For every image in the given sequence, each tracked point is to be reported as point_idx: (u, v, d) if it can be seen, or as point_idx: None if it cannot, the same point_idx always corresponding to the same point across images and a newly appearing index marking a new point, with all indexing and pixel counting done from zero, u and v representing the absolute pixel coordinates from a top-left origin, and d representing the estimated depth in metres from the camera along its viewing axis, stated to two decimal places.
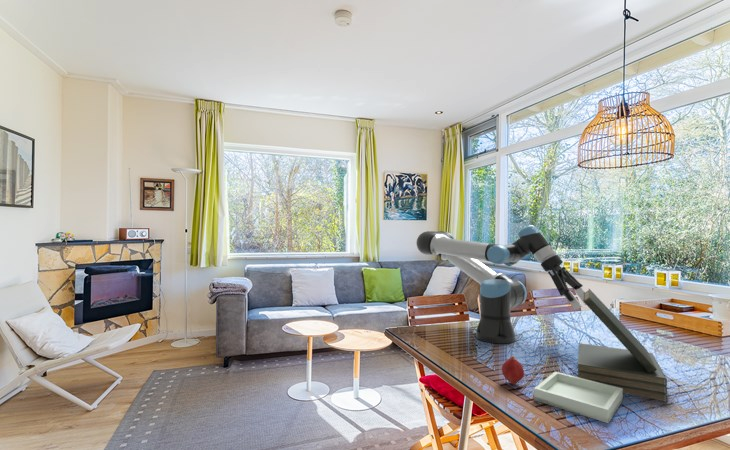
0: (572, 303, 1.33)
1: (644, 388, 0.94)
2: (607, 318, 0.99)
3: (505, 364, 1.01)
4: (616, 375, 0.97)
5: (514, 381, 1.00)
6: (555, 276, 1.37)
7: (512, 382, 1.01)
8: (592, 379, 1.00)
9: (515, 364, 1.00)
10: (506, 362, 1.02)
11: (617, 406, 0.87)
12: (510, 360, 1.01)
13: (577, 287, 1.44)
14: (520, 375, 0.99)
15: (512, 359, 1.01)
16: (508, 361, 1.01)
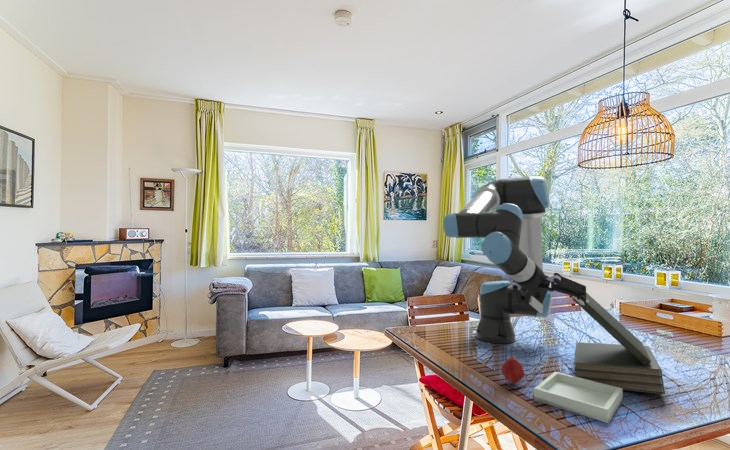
0: None
1: (641, 381, 0.94)
2: (597, 314, 1.01)
3: (505, 364, 1.01)
4: (612, 370, 0.97)
5: (514, 381, 1.00)
6: None
7: (512, 382, 1.01)
8: (589, 376, 1.00)
9: (515, 364, 1.00)
10: (506, 362, 1.02)
11: (617, 406, 0.87)
12: (510, 360, 1.01)
13: None
14: (520, 375, 0.99)
15: (512, 359, 1.01)
16: (508, 361, 1.01)
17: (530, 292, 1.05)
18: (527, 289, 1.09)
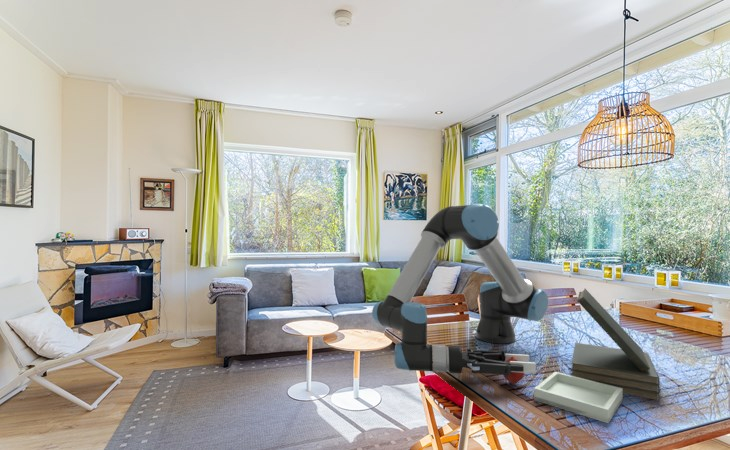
0: None
1: (637, 387, 0.94)
2: (601, 317, 1.00)
3: None
4: (609, 374, 0.98)
5: (514, 381, 1.00)
6: None
7: (512, 382, 1.01)
8: (586, 378, 1.00)
9: None
10: None
11: (617, 406, 0.87)
12: (510, 360, 1.01)
13: None
14: (519, 375, 0.99)
15: (512, 359, 1.01)
16: (508, 361, 1.01)
17: None
18: None
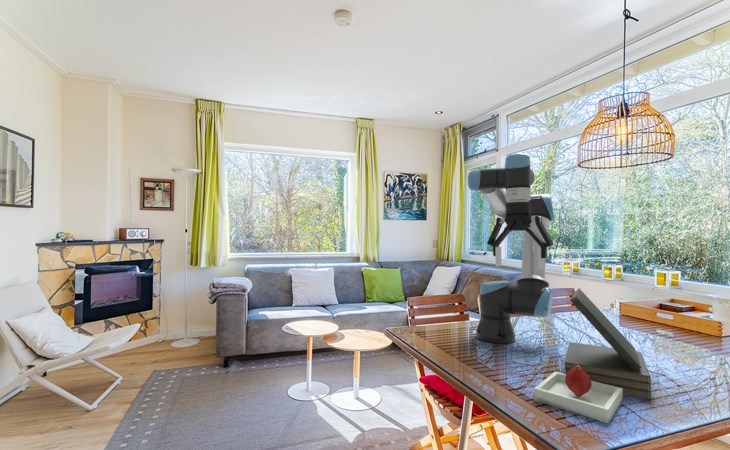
0: None
1: (629, 385, 0.95)
2: (593, 317, 1.01)
3: (570, 374, 0.92)
4: (601, 373, 0.98)
5: (581, 393, 0.90)
6: None
7: (578, 394, 0.91)
8: None
9: (582, 374, 0.90)
10: (571, 372, 0.92)
11: (617, 406, 0.87)
12: (575, 370, 0.91)
13: None
14: (588, 386, 0.89)
15: (578, 368, 0.91)
16: (573, 371, 0.92)
17: (507, 227, 1.17)
18: None
